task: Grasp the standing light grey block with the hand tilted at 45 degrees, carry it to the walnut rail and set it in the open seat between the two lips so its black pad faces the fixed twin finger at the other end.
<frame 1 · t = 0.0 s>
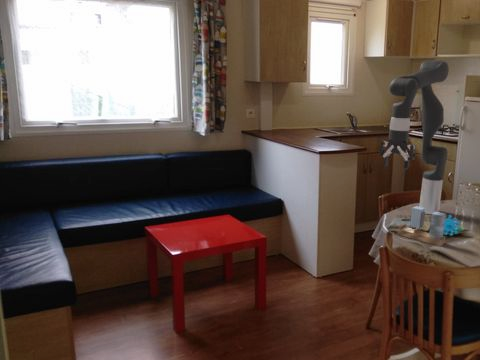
hand: (395, 167, 182), 29 cm above the table, tool pointing down, fingers open, 8 cm apart
light grey block: (416, 229, 196), on the table
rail: (420, 238, 185), on the table
gear: (447, 234, 192), on the table
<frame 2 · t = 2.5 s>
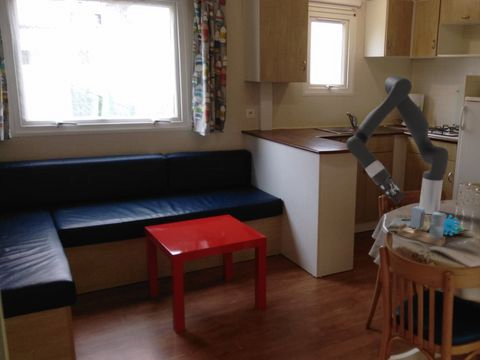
hand: (400, 200, 197), 12 cm above the table, tool tilted 45°, fingers open, 8 cm apart
nothing on the table moved.
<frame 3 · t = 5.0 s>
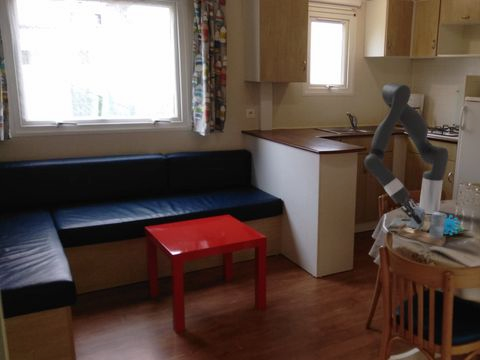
hand: (421, 221, 194), 4 cm above the table, tool tilted 45°, fingers closed on light grey block, 4 cm apart
light grey block: (416, 229, 196), on the table, touching gripper
everything else where it was.
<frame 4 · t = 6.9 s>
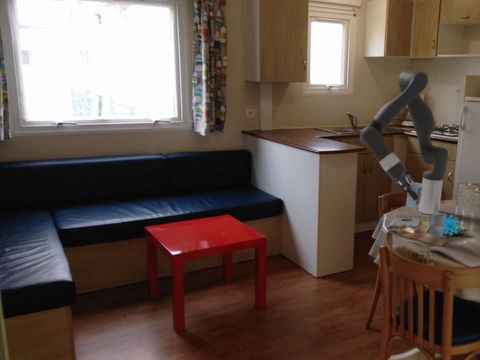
hand: (418, 197, 185), 17 cm above the table, tool tilted 45°, fingers closed on light grey block, 4 cm apart
light grey block: (412, 206, 187), point 12 cm above the table, touching gripper
everything else where it was.
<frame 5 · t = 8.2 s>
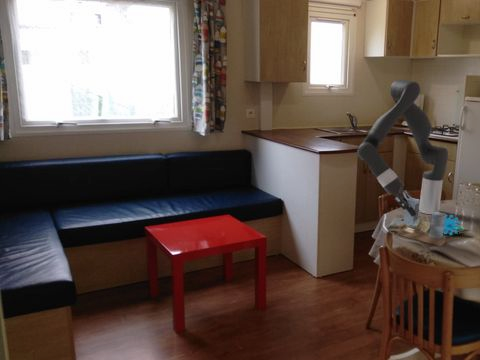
hand: (416, 213, 185), 10 cm above the table, tool tilted 45°, fingers closed on light grey block, 4 cm apart
light grey block: (410, 222, 187), point 6 cm above the table, touching gripper
everything else where it was.
when the fingers open (8 cm above the table, at t = 9.0 s): light grey block drops 1 cm, resting on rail.
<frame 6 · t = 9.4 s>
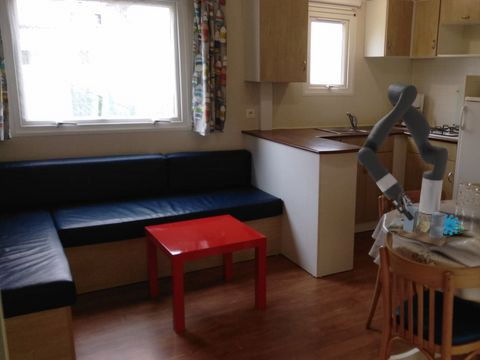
hand: (414, 217, 186), 9 cm above the table, tool tilted 45°, fingers open, 8 cm apart
light grey block: (409, 229, 188), point 3 cm above the table, touching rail
everything else where it was.
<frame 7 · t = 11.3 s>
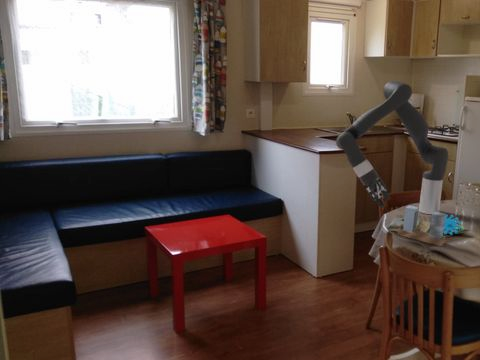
hand: (385, 203, 193), 12 cm above the table, tool tilted 40°, fingers open, 8 cm apart
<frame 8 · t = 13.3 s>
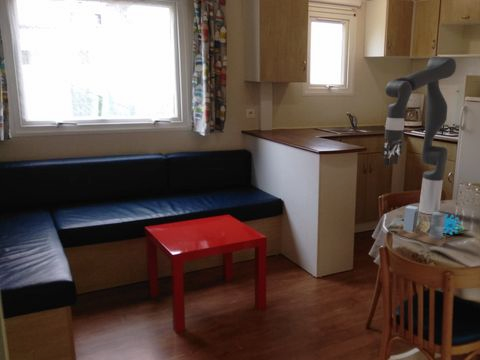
hand: (390, 165, 193), 28 cm above the table, tool pointing down, fingers open, 8 cm apart
at the end: light grey block 0.1 cm from the target spot on the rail, point 2.6 cm above the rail's base; light grey block tilted 0°; the gripper is holding nothing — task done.
